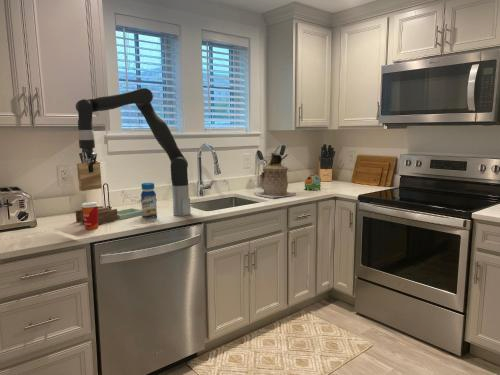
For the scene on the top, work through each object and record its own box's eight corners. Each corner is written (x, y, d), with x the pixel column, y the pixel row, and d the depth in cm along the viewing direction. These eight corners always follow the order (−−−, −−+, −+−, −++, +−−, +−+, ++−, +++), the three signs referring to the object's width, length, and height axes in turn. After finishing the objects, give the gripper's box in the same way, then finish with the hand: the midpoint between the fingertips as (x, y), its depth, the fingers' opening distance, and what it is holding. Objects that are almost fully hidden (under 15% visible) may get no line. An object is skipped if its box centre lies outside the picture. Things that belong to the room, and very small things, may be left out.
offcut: (107, 219, 201) (106, 207, 200) (90, 223, 193) (89, 211, 192) (105, 219, 202) (104, 207, 202) (87, 222, 195) (86, 210, 194)
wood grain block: (101, 188, 202) (99, 162, 199) (82, 191, 193) (79, 163, 191) (98, 187, 203) (96, 162, 201) (79, 190, 195) (76, 163, 193)
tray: (145, 216, 213) (144, 210, 213) (120, 222, 201) (120, 215, 200) (132, 214, 221) (132, 207, 220) (108, 219, 208) (107, 212, 208)
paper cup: (81, 230, 184) (79, 203, 182) (98, 228, 189) (96, 201, 187) (85, 234, 178) (83, 205, 176) (102, 231, 182) (100, 203, 180)
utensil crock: (298, 195, 276) (298, 152, 271) (271, 199, 262) (271, 153, 257) (277, 191, 296) (276, 150, 291) (251, 194, 282) (250, 152, 277)
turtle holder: (326, 188, 306) (327, 174, 305) (314, 191, 294) (314, 176, 292) (314, 187, 315) (314, 173, 313) (301, 190, 302) (301, 175, 300)
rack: (118, 222, 200) (117, 209, 199) (91, 228, 188) (90, 214, 187) (102, 219, 209) (101, 206, 208) (76, 224, 197) (75, 210, 196)
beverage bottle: (159, 217, 211) (158, 182, 208) (153, 220, 203) (151, 184, 200) (145, 217, 213) (143, 182, 210) (139, 220, 205) (136, 184, 202)
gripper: (100, 138, 193) (103, 172, 196) (86, 138, 201) (88, 170, 204) (86, 139, 187) (89, 173, 190) (72, 139, 196) (75, 172, 198)
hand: (89, 172), depth 197 cm, fingers closed on wood grain block, 3 cm apart
